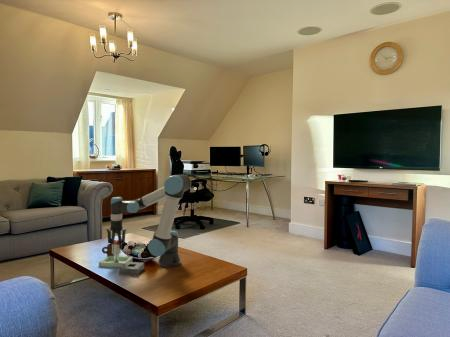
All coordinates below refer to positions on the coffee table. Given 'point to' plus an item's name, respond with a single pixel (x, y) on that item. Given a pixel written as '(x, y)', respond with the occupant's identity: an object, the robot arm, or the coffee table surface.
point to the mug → (108, 250)
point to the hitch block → (131, 268)
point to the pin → (116, 251)
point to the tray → (110, 262)
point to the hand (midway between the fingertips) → (116, 253)
